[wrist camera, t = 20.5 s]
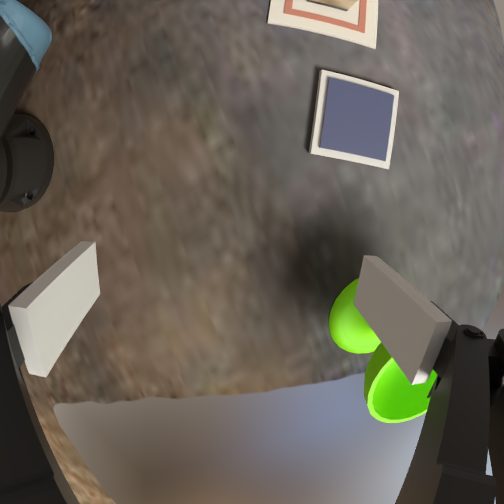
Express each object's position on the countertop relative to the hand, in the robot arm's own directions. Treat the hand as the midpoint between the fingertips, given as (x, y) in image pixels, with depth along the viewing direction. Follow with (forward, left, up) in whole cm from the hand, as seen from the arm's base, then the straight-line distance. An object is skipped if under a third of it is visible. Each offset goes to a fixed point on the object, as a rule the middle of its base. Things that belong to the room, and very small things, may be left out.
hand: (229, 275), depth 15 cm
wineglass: (+26, -18, -30) cm, 44 cm away
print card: (+10, +32, -30) cm, 45 cm away
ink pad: (+16, +12, -30) cm, 36 cm away
